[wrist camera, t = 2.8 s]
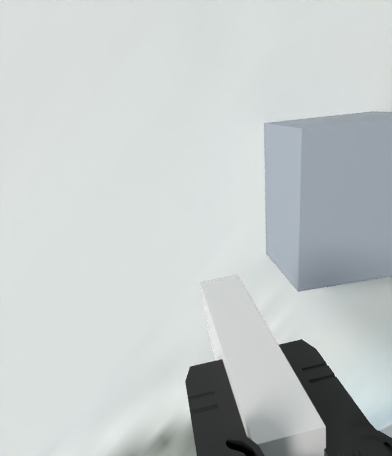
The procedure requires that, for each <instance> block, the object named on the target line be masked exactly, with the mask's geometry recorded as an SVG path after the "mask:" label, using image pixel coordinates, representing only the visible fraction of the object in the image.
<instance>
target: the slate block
mask: <svg viewBox="0 0 392 456" xmlns="http://www.w3.org/2000/svg"><path fill="white" fill-rule="evenodd" d="M264 147H265V211H266V254H267V255H268V256H269V258H270V259H271V260H272V261H273V262H274V264H275V265H276V266H277V267H278V268H279V270H280V271H281V272H282V273H283V274H284V276H285V277H286V278H287V279H288V280H289V281H290V283H291V284H292V285H293V286H294V287H295V289H296V290H297V291H298V292H299V291H305V290H311V289H317V288H323V287H329V286H335V285H341V284H347V283H353V282H359V281H365V280H371V279H377V278H383V277H389V276H392V112H364V113H355V114H345V115H336V116H327V117H317V118H308V119H299V120H290V121H280V122H271V123H264Z"/></svg>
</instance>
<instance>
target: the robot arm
mask: <svg viewBox="0 0 392 456" xmlns="http://www.w3.org/2000/svg"><path fill="white" fill-rule="evenodd" d="M200 285H201V291H202V296H203V302H204V308H205V314H206V320H207V326H208V332H209V338H210V342H211V346H212V349H213V353H214V356H215V360H216V361H212V362H208V363H204V364H200V365H195V366H191V367H190V369H189V372H188V375H187V378H186V388H187V395H188V401H189V407H190V413H191V420H192V427H193V433H194V439H195V446H196V452H197V456H392V438H391V437H389V436H387V435H386V434H384V433H382V432H380V431H378V430H376V429H375V428H374V427H373V426H372V425H371V424H370V422H369V421H368V420H367V418H366V417H365V416H364V414H363V413H362V412H361V410H360V409H359V407H358V406H357V405H356V403H355V402H354V401H353V399H352V398H351V396H350V395H349V394H348V392H347V391H346V390H345V388H344V387H343V385H342V384H341V383H340V381H339V380H338V379H337V377H335V375H334V373H333V372H332V370H331V369H330V368H329V366H327V365H326V362H325V361H324V359H323V358H322V356H321V355H320V354H319V352H318V351H317V350H316V349H315V348H314V347H312V346H311V345H309V344H308V343H306V342H305V341H303V340H302V339H301V340H297V341H293V342H289V343H284V344H280V345H278V343H277V342H276V340H275V338H274V336H273V335H272V333H271V331H270V329H269V328H268V326H267V324H266V322H265V321H264V319H263V317H262V316H261V314H260V312H259V310H258V309H257V307H256V305H255V303H254V302H253V300H252V298H251V297H250V295H249V293H248V291H247V290H246V288H245V286H244V284H243V283H242V281H241V279H240V278H239V276H238V275H234V276H229V277H225V278H220V279H215V280H211V281H206V282H201V283H200Z"/></svg>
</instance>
